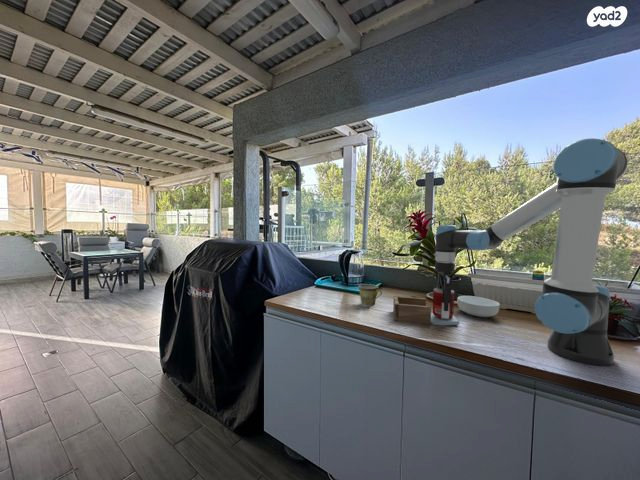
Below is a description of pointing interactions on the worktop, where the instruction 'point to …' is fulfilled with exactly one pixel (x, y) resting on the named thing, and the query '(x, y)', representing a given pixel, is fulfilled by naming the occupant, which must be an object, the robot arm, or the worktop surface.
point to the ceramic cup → (368, 294)
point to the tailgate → (444, 320)
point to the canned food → (438, 305)
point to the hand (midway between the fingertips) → (442, 314)
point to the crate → (411, 310)
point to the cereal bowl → (478, 306)
